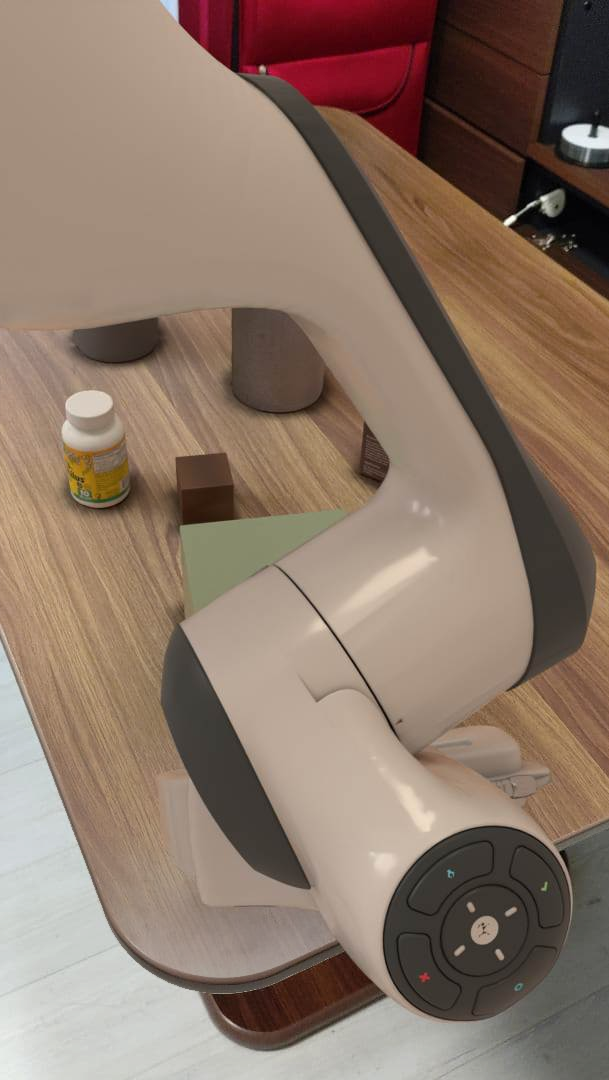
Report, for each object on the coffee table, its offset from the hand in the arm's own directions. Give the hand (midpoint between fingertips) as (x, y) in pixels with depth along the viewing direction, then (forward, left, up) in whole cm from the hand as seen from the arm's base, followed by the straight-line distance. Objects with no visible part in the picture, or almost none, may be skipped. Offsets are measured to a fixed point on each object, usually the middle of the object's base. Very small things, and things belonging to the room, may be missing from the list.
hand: (316, 760), depth 61 cm
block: (-3, +31, -6) cm, 32 cm away
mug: (-8, +62, -6) cm, 63 cm away
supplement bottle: (-12, +35, -6) cm, 38 cm away
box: (+16, +34, -6) cm, 38 cm away
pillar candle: (+7, +49, -6) cm, 50 cm away
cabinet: (0, +12, -6) cm, 14 cm away
